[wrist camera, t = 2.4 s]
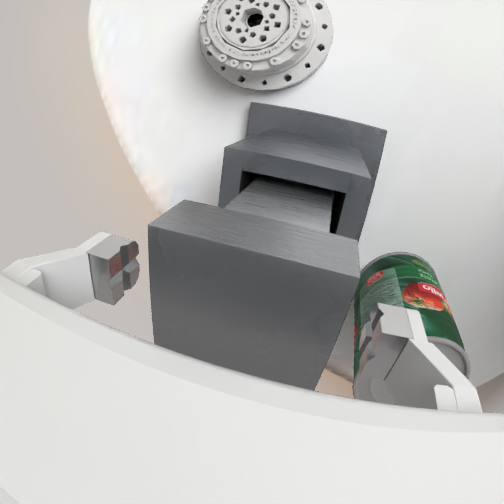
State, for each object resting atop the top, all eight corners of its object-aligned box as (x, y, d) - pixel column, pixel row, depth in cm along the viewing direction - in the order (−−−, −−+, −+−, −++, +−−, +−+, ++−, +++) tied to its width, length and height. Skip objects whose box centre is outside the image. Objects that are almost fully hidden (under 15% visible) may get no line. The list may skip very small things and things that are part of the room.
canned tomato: (340, 311, 28) (331, 406, 19) (375, 238, 24) (391, 323, 15) (411, 334, 27) (424, 427, 18) (452, 269, 24) (492, 356, 14)
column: (346, 155, 21) (360, 277, 6) (332, 218, 24) (304, 409, 9) (278, 140, 22) (148, 224, 7) (268, 203, 24) (156, 363, 10)
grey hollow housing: (385, 129, 21) (427, 153, 10) (354, 248, 25) (356, 349, 15) (254, 102, 22) (181, 104, 12) (238, 220, 27) (172, 299, 17)
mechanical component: (304, 110, 22) (352, 2, 17) (297, 111, 18) (353, -18, 13) (189, 69, 22) (231, -32, 17) (162, 65, 19) (211, -52, 14)
